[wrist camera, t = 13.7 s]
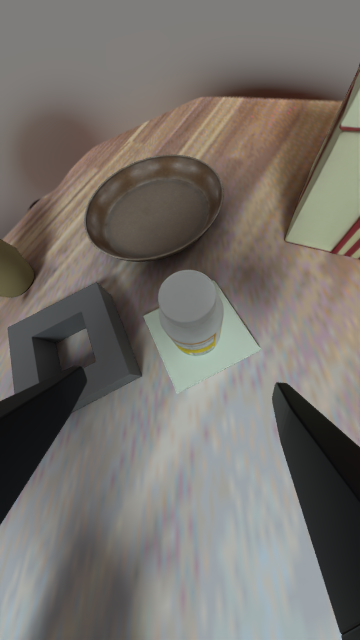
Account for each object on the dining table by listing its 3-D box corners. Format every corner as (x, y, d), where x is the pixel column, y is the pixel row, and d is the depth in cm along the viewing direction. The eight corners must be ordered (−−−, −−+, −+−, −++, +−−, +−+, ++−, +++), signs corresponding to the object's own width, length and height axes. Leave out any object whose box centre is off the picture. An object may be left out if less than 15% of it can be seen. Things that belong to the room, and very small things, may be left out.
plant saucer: (93, 195, 34) (81, 176, 31) (202, 160, 33) (201, 136, 30) (98, 290, 27) (84, 277, 24) (240, 250, 25) (244, 232, 22)
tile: (259, 350, 20) (260, 349, 20) (178, 393, 20) (177, 393, 20) (213, 282, 24) (213, 279, 23) (144, 317, 24) (143, 316, 23)
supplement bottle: (204, 366, 20) (198, 349, 11) (164, 340, 22) (132, 308, 13) (229, 325, 21) (241, 280, 12) (189, 304, 23) (175, 250, 14)
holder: (141, 376, 21) (129, 374, 18) (48, 424, 21) (18, 431, 18) (111, 295, 26) (96, 282, 22) (33, 335, 26) (7, 327, 22)
